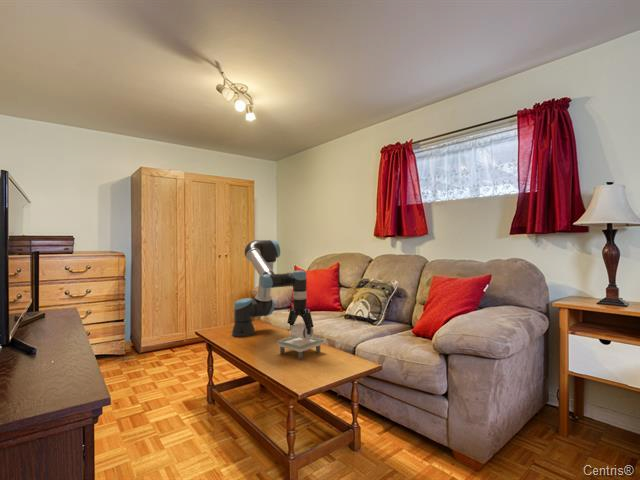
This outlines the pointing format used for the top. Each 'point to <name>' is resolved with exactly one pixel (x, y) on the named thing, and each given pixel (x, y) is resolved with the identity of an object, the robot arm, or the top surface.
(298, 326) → the mug
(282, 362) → the top surface
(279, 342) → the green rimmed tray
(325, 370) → the top surface
